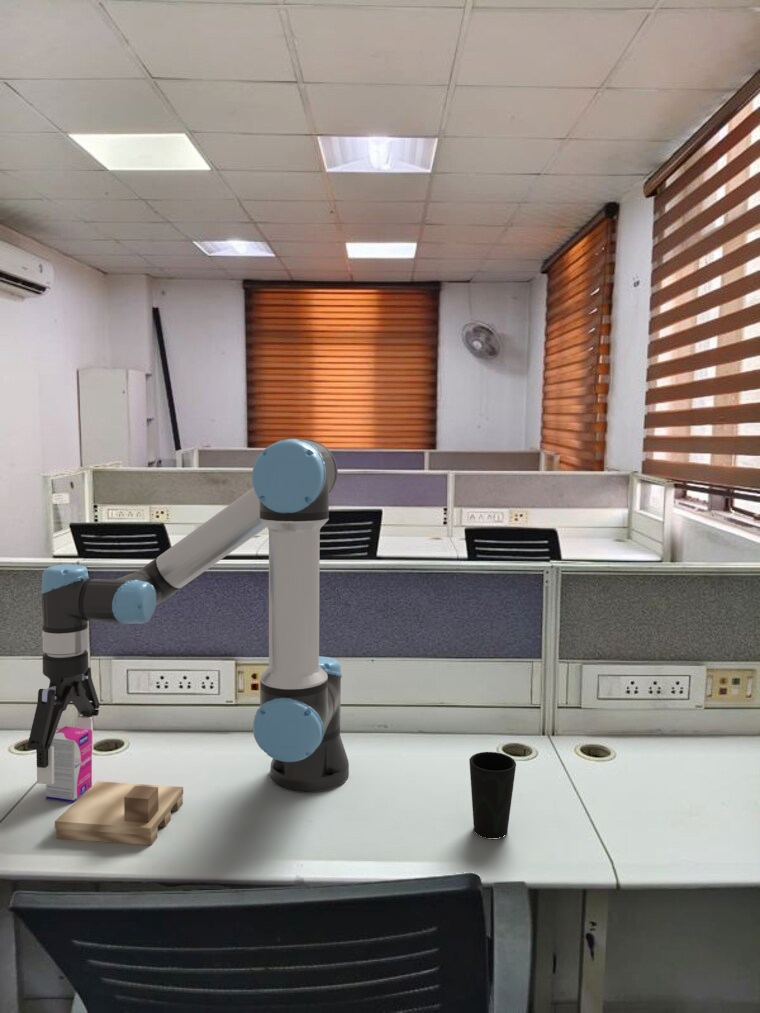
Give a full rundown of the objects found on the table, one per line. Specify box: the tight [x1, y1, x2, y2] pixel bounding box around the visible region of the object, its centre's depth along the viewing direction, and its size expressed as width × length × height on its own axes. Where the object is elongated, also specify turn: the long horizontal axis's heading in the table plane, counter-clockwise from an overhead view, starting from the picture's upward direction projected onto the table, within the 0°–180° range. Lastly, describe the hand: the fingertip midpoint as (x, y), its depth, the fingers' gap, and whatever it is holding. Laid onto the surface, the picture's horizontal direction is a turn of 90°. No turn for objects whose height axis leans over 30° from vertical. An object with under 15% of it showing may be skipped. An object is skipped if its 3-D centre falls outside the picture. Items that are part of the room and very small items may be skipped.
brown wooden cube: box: [124, 786, 158, 823], centre depth 120 cm, size 4×4×4 cm
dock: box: [54, 780, 184, 846], centre depth 124 cm, size 16×14×3 cm
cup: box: [469, 751, 517, 839], centre depth 122 cm, size 8×8×12 cm
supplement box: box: [45, 725, 93, 804], centre depth 132 cm, size 6×6×12 cm
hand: (66, 766), depth 133 cm, fingers open, 13 cm apart
